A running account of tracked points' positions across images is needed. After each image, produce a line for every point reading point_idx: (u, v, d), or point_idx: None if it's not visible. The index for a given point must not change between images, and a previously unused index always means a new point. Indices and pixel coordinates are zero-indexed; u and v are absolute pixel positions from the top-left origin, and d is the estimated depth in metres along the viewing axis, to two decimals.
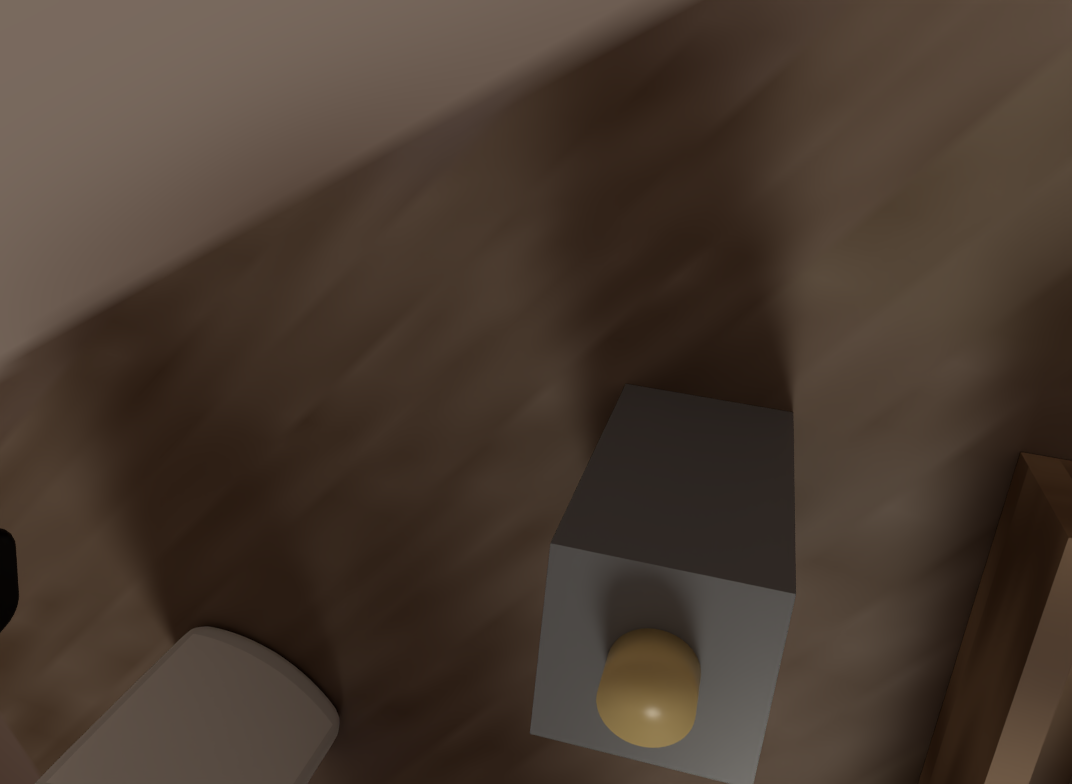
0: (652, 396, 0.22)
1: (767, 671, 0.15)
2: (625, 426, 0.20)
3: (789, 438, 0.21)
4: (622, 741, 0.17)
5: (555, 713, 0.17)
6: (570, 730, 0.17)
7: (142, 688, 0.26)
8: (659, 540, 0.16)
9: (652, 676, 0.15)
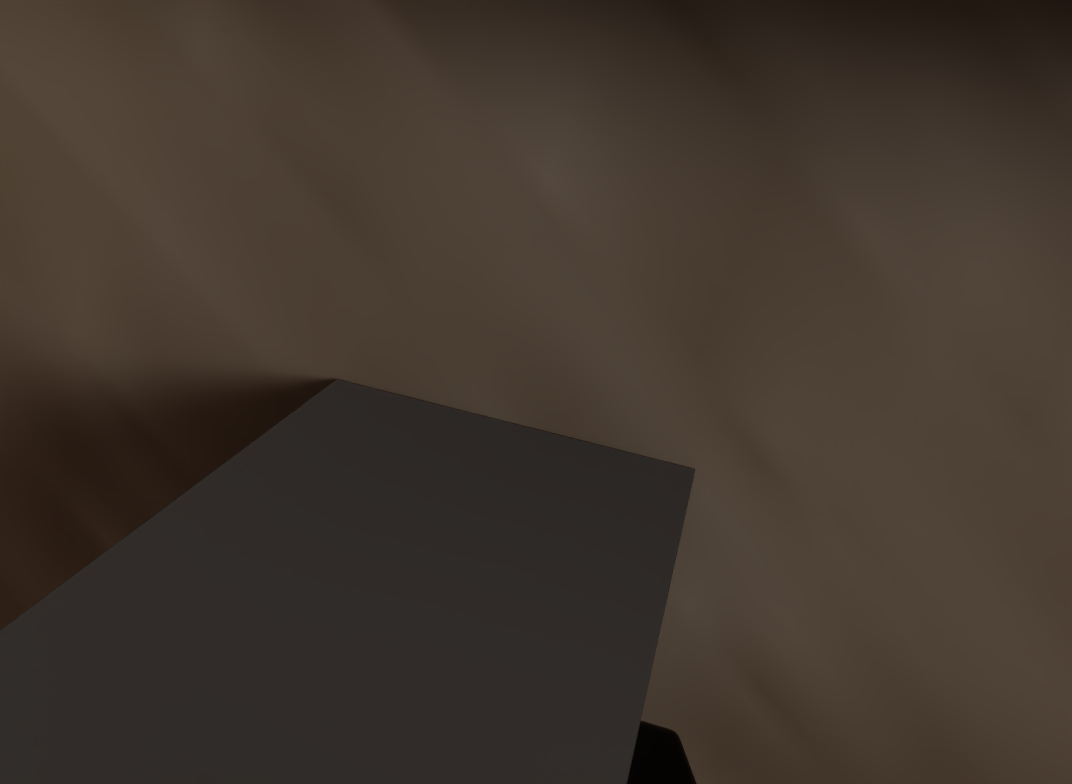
0: None
1: None
2: None
3: None
4: None
5: None
6: None
7: None
8: None
9: None
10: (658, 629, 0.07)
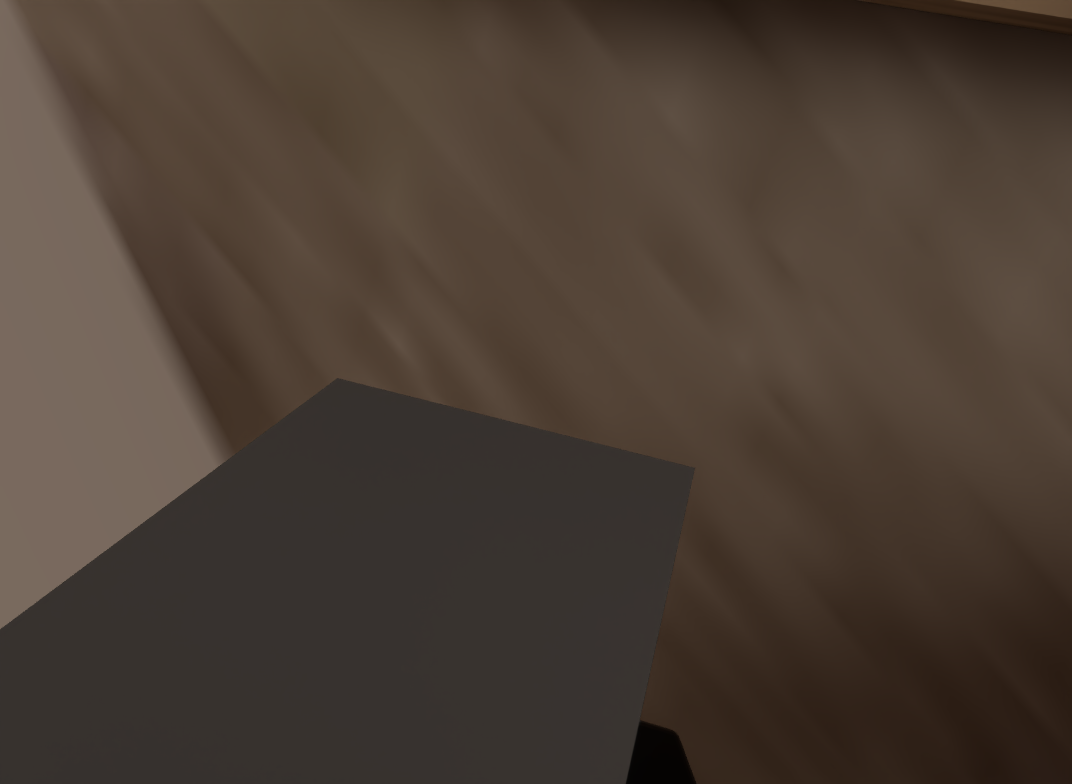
0: None
1: None
2: None
3: None
4: None
5: None
6: None
7: None
8: None
9: None
10: (658, 627, 0.07)
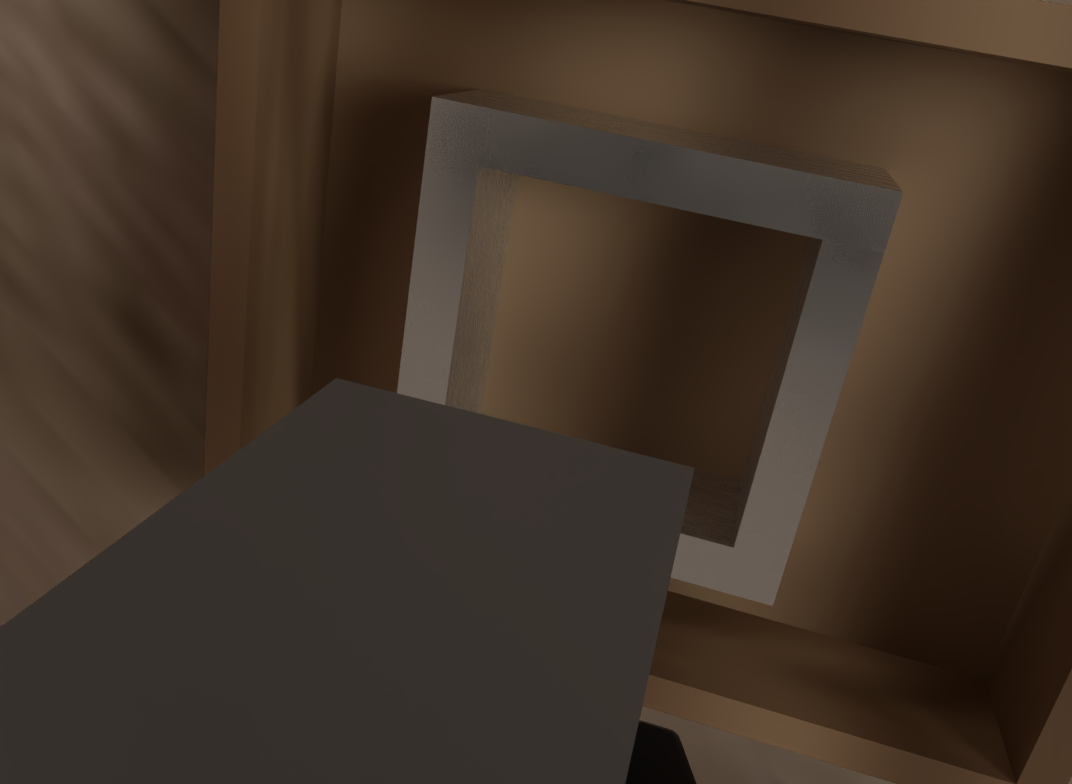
0: None
1: None
2: None
3: None
4: None
5: None
6: None
7: None
8: None
9: None
10: (657, 627, 0.07)
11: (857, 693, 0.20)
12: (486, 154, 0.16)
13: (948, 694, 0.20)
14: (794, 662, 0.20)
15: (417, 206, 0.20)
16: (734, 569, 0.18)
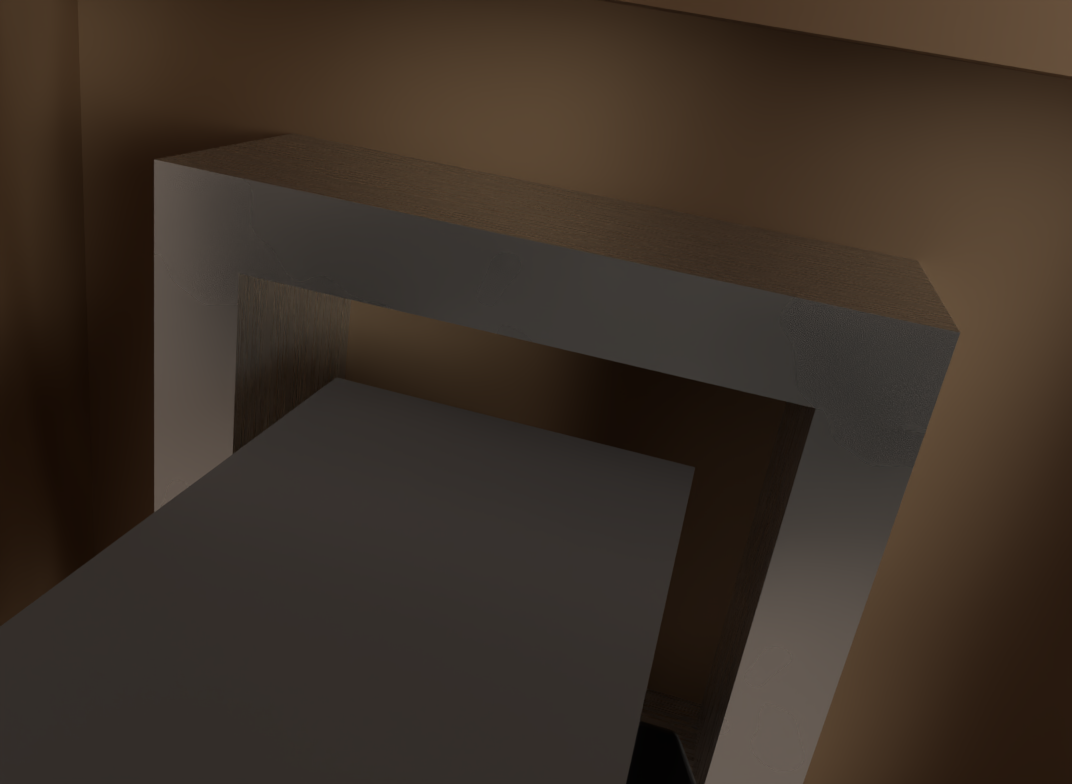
0: None
1: None
2: None
3: None
4: None
5: None
6: None
7: None
8: None
9: None
10: (658, 627, 0.07)
11: None
12: (249, 255, 0.10)
13: None
14: None
15: None
16: None
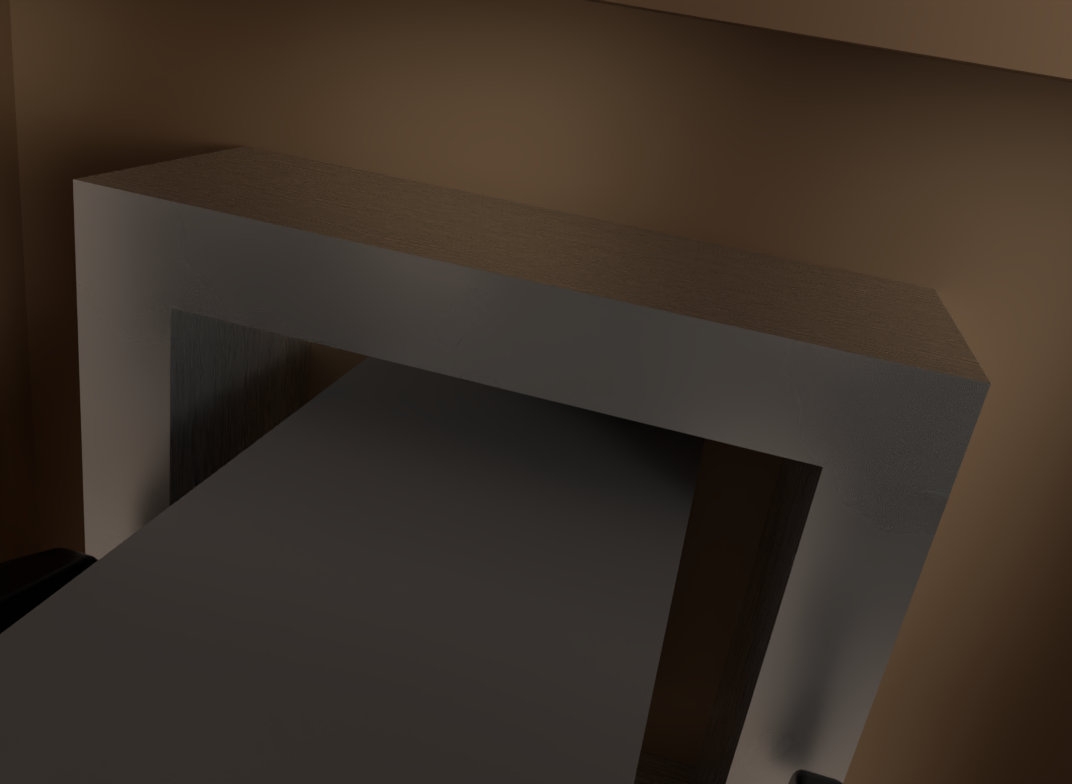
0: None
1: None
2: None
3: None
4: None
5: None
6: None
7: None
8: None
9: None
10: (683, 536, 0.08)
11: None
12: (182, 287, 0.09)
13: None
14: None
15: None
16: None
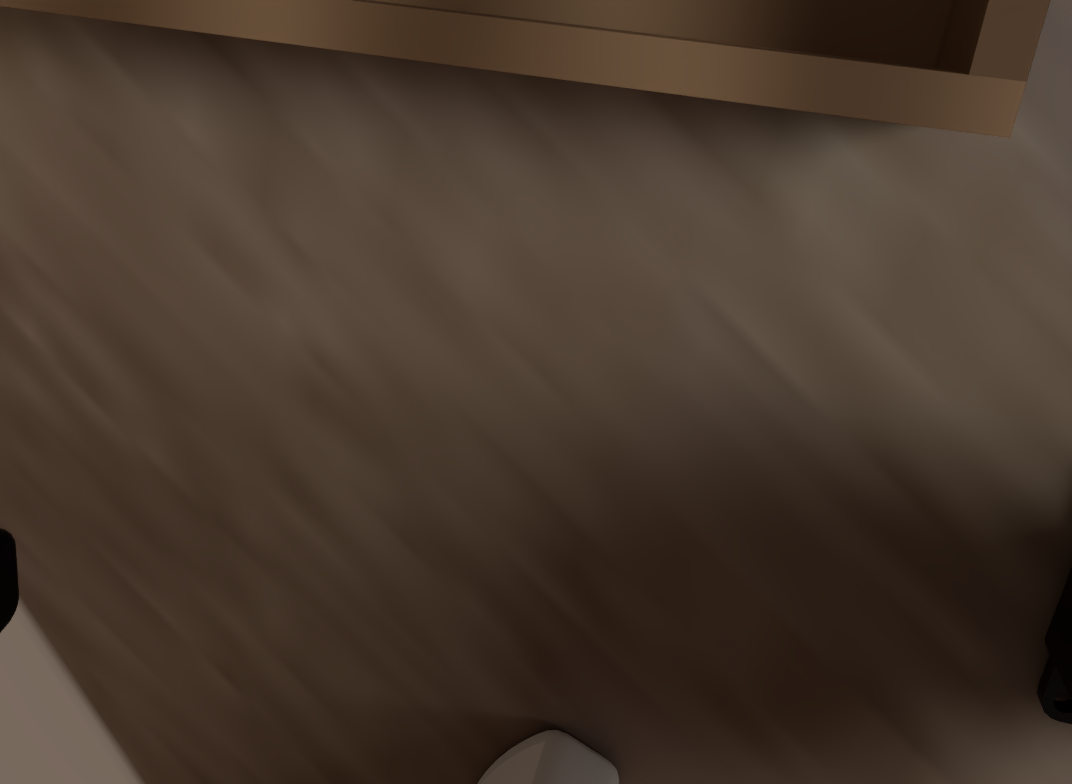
0: None
1: None
2: None
3: None
4: None
5: None
6: None
7: None
8: None
9: None
10: None
11: (770, 49, 0.16)
12: None
13: None
14: None
15: None
16: None
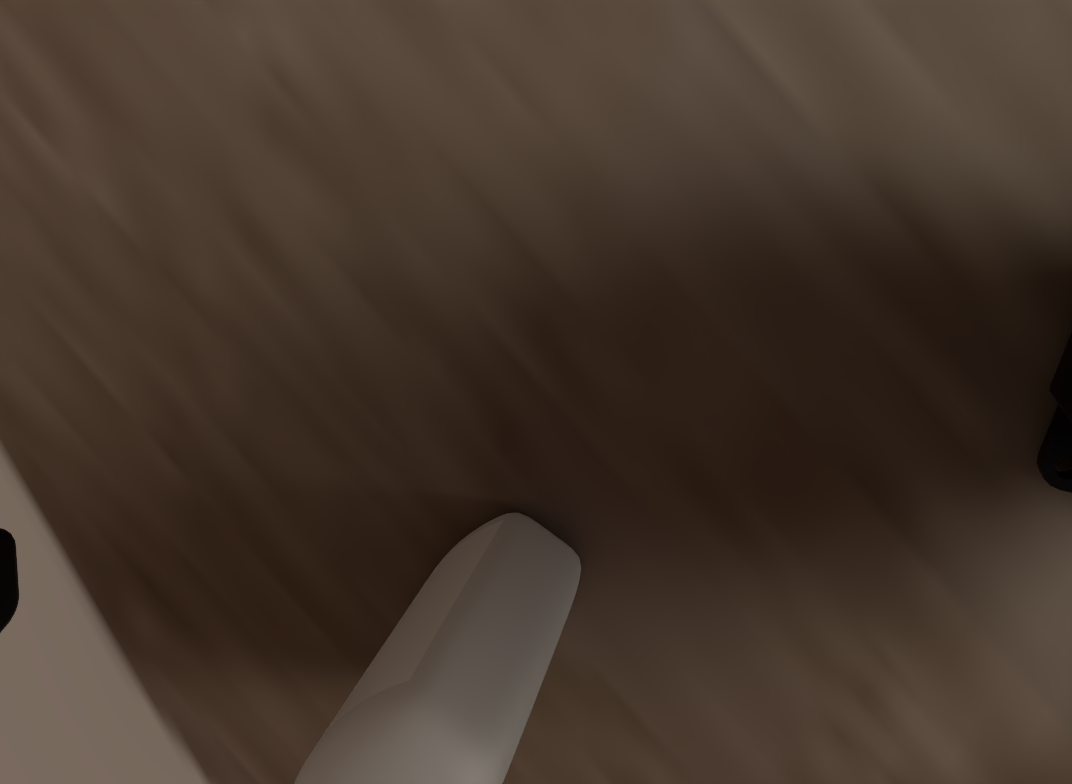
0: None
1: None
2: None
3: None
4: None
5: None
6: None
7: None
8: None
9: None
10: None
11: None
12: None
13: None
14: None
15: None
16: None
